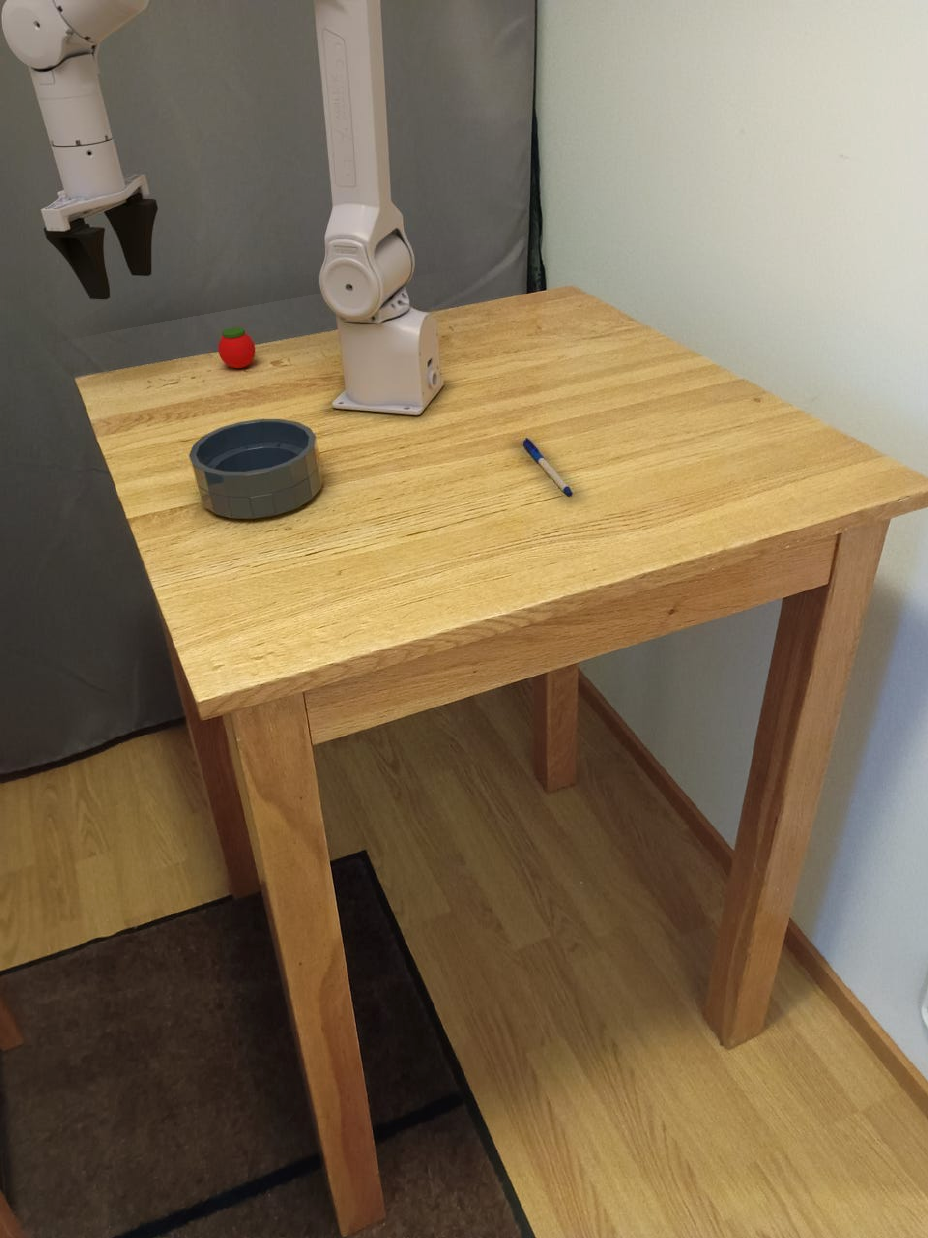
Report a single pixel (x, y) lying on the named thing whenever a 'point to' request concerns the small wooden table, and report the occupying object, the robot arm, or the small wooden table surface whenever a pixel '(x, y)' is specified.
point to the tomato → (236, 347)
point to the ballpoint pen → (546, 466)
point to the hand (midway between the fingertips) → (121, 285)
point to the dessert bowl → (257, 468)
